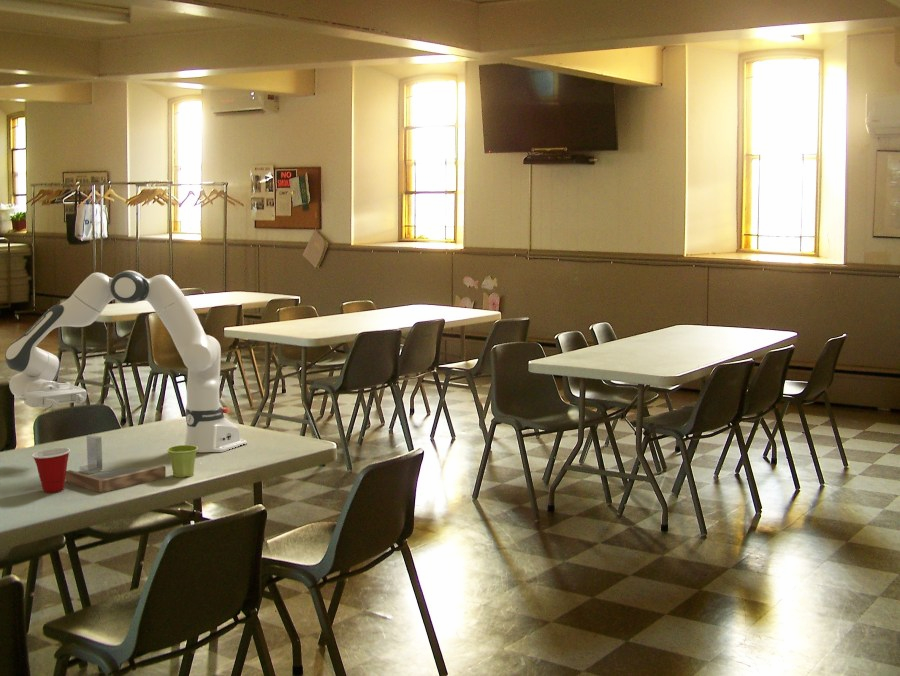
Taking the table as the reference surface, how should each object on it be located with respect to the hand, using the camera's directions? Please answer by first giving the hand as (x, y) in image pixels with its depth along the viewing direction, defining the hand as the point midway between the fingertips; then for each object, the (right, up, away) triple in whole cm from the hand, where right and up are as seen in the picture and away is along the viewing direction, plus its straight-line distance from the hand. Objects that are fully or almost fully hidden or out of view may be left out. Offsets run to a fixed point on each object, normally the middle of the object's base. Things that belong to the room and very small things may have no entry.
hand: (69, 401), depth 349 cm
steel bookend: (+9, -22, -6) cm, 24 cm away
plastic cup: (+5, -25, -28) cm, 38 cm away
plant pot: (+39, -23, -10) cm, 47 cm away
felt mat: (+20, -23, -15) cm, 34 cm away
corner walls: (+20, -23, -16) cm, 34 cm away
